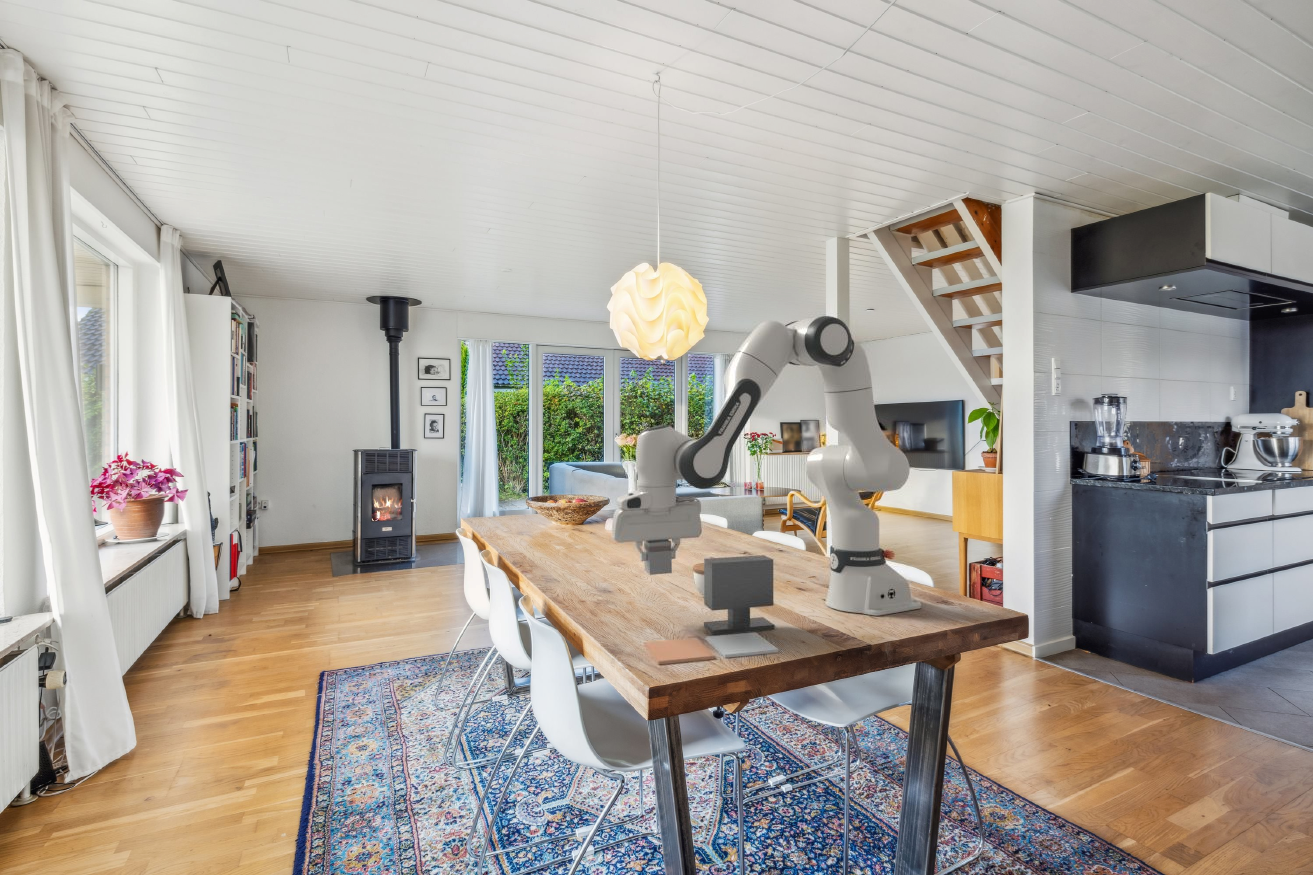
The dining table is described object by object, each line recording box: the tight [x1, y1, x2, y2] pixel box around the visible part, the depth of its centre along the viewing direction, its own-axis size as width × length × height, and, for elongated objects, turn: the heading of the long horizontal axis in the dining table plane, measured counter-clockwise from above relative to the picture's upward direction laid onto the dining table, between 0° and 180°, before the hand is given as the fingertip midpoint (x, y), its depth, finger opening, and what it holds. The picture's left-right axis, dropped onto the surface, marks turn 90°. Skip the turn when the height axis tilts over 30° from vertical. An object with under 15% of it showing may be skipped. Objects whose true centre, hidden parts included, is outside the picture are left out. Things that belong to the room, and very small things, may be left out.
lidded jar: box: [692, 562, 704, 598], centre depth 169 cm, size 11×11×9 cm
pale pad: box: [705, 631, 779, 659], centre depth 131 cm, size 11×11×1 cm
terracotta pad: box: [643, 637, 716, 665], centre depth 127 cm, size 11×11×1 cm
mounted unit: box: [703, 554, 775, 636], centre depth 142 cm, size 14×6×15 cm, turn 105°
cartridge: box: [643, 539, 673, 576], centre depth 147 cm, size 5×5×7 cm
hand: (657, 559), depth 147 cm, fingers closed on cartridge, 5 cm apart
